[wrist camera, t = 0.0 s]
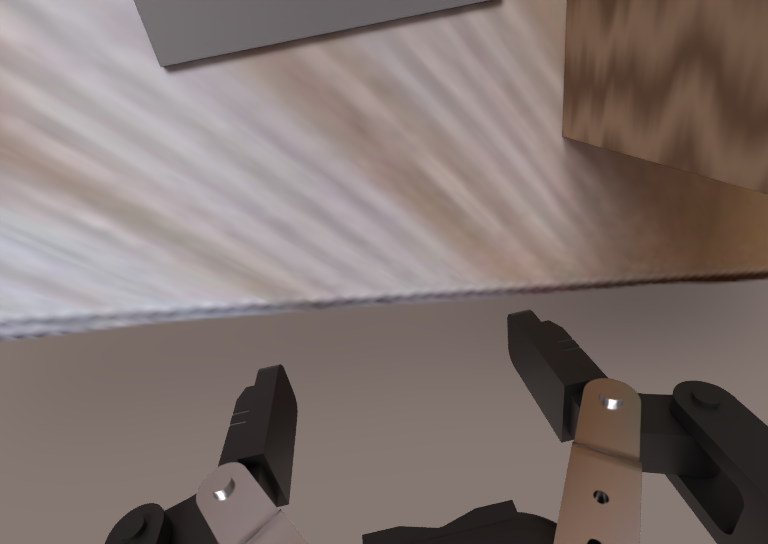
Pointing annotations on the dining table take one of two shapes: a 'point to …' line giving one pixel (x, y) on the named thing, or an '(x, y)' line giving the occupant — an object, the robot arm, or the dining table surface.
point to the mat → (262, 22)
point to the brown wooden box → (672, 83)
